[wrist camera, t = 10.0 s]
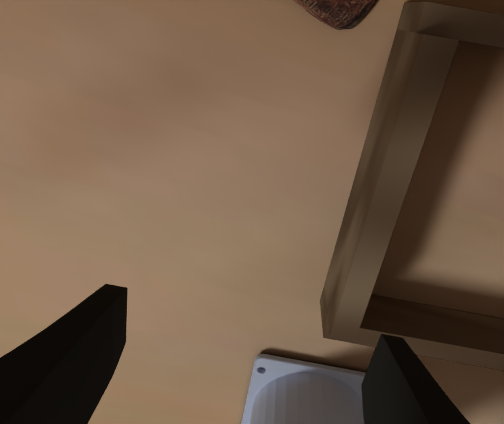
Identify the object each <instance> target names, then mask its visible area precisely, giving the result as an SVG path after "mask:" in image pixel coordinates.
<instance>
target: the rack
mask: <svg viewBox="0 0 504 424" xmlns="http://www.w3.org/2000/svg"><path fill="white" fill-rule="evenodd" d="M454 39H455V40H454ZM459 40H460V41H466V42H472V43H477V44H483V45H489V46H495V47H500V48H504V15H501V14H495V13H489V12H483V11H478V10H472V9H466V8H460V7H455V6H449V5H443V4H437V3H432V2H426V1H423V2H406V3H404V6H403V10H402V13H401V17H400V20H399V24H398V27H397V31H396V34H395V38H394V41H393V45H392V48H391V52H390V55H389V59H388V63H387V66H386V70H385V73H384V77H383V80H382V84H381V87H380V91H379V94H378V98H377V101H376V105H375V108H374V112H373V115H372V119H371V123H370V126H369V130H368V133H367V137H366V140H365V144H364V147H363V151H362V154H361V158H360V161H359V165H358V168H357V172H356V175H355V179H354V182H353V186H352V190H351V193H350V197H349V200H348V204H347V207H346V211H345V214H344V218H343V221H342V225H341V228H340V232H339V235H338V239H337V242H336V246H335V250H334V253H333V257H332V260H331V264H330V267H329V271H328V274H327V278H326V281H325V285H324V288H323V292H322V295H321V299H320V306H321V317H322V327H323V338H328V339H333V340H339V341H344V342H350V343H355V344H361V345H366V346H372V347H376V346H377V343H378V340H379V338H380V335H381V334H386V335H391V336H397V337H402V338H403V339H404V340H405V341H406V342H407V344H408V345H409V346H410V348H411V349H412V350H413V352H414V353H415V354H416V355H421V356H426V357H431V358H437V359H442V360H448V361H453V362H459V363H464V364H470V365H475V366H481V367H486V368H491V369H497V370H502V371H504V319H502V318H496V317H491V316H485V315H480V314H474V313H469V312H463V311H458V310H452V309H447V308H441V307H436V306H430V305H425V304H419V303H414V302H408V301H403V300H397V299H392V298H386V297H381V296H375V295H371V294H372V291H373V288H374V285H375V282H376V279H377V276H378V273H379V271H380V268H381V265H382V262H383V259H384V256H385V253H386V250H387V247H388V245H389V242H390V239H391V236H392V233H393V230H394V227H395V224H396V222H397V219H398V216H399V213H400V210H401V207H402V204H403V201H404V198H405V196H406V193H407V190H408V187H409V184H410V181H411V178H412V175H413V173H414V170H415V167H416V164H417V161H418V158H419V155H420V152H421V149H422V147H423V144H424V141H425V138H426V135H427V132H428V129H429V126H430V124H431V121H432V118H433V115H434V112H435V109H436V106H437V103H438V100H439V98H440V95H441V92H442V89H443V86H444V83H445V80H446V77H447V75H448V72H449V69H450V66H451V63H452V60H453V57H454V54H455V51H456V49H457V46H458V43H459Z"/></svg>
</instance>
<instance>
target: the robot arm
mask: <svg viewBox="0 0 504 424" xmlns="http://www.w3.org/2000/svg"><path fill="white" fill-rule="evenodd" d="M126 319H127V288H126V287H120V286H115V285H109V284H105V285H104V286H102V287H101V288H100V289H98V290H97V291H96V292H94V293H93V294H92V295H90V296H89V297H88V298H86V299H85V300H84V301H82V302H81V303H80V304H79V305H77V306H76V307H75V308H73V309H72V310H71V311H69V312H68V313H67V314H65V315H64V316H62V317H61V318H60V319H58V320H57V321H55V322H54V323H53V324H51V325H50V326H48V327H47V328H46V329H44V330H43V331H41V332H40V333H38V334H37V335H35V336H34V337H32V338H31V339H29V340H28V341H26V342H24V343H23V344H21V345H20V346H18V347H17V348H15V349H14V350H12V351H11V352H9V353H7V354H6V355H4V356H2V357H1V358H0V424H88V422H89V420H90V418H91V416H92V414H93V412H94V410H95V409H96V407H97V405H98V403H99V401H100V399H101V397H102V395H103V394H104V392H105V390H106V388H107V386H108V384H109V382H110V380H111V378H112V376H113V374H114V372H115V369H116V367H117V364H118V362H119V359H120V356H121V354H122V351H123V349H124V346H125V343H126ZM259 367H263V368H264V369H261V368H259ZM241 424H470V423H469V422H468V421H467V420H466V418H465V417H464V416H463V415H462V414H461V412H460V411H459V410H458V409H457V408H456V406H455V405H454V404H453V403H452V401H451V400H450V399H449V398H448V396H447V395H446V394H445V393H444V391H443V390H442V389H441V387H440V386H439V385H438V384H437V382H436V381H435V380H434V378H433V377H432V376H431V374H430V373H429V372H428V370H427V369H426V368H425V366H424V365H423V364H422V362H421V361H420V360H419V358H418V357H417V356H416V354H415V353H414V352H413V350H412V349H411V348H410V346H409V345H408V344H407V342H406V341H405V340H404V339H403V338H402V337H397V336H391V335H386V334H381V335H380V338H379V340H378V343H377V346H376V348H375V351H374V353H373V356H372V359H371V361H370V364H369V366H368V369H367V372H366V373H365V372H360V371H354V370H349V369H343V368H338V367H333V366H327V365H322V364H316V363H311V362H305V361H300V360H295V359H289V358H284V357H278V356H273V355H267V354H259V355H257V356H256V358H255V361H254V366H253V371H252V375H251V380H250V384H249V389H248V394H247V398H246V403H245V408H244V412H243V417H242V422H241Z"/></svg>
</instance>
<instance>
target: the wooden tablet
mask: <svg viewBox="0 0 504 424" xmlns="http://www.w3.org/2000/svg"><path fill="white" fill-rule="evenodd" d="M294 1H295V2H297V3H298V4H299V5H301V6H302V7H303V8H304V9H305V10H306V11H307V12H309V13H310V14H311V15H313V16H314V17H316V18H317V19H318V20H320V21H322V22H323V23H325V24H327V25H329V26H331V27H332V28H335V29H338V30H341V29H352V28H354V27H355V26H357V25H358V24H359V23H360V22H361V21H362V20H363V18H364V17H365V16H366V14H367V13H368V12H369V10H370V9H371V8H372V6H373V5H374V4H375V2H376V1H377V0H294Z"/></svg>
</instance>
